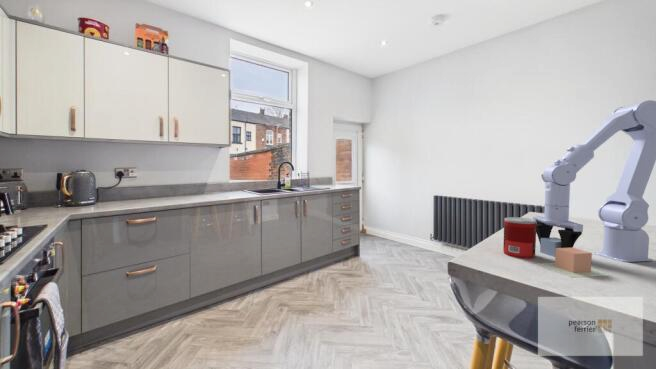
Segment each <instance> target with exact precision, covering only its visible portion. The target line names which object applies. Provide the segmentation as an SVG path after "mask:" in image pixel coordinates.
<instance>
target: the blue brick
mask: <svg viewBox="0 0 656 369" xmlns="http://www.w3.org/2000/svg"><path fill="white" fill-rule="evenodd" d="M539 245H540V246H539V248H540V249H539V252H540V253H541V254H545V255H548V256H550V257H553V258H555V252H556V248H561V238H560V237H559V238H558V237H550V238H541V243H540V242H539Z"/></svg>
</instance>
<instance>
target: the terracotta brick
mask: <svg viewBox="0 0 656 369" xmlns="http://www.w3.org/2000/svg"><path fill="white" fill-rule="evenodd" d="M592 256H593V252H590V251H587V250H583V249H580V248H576V247H574V246H573V247H572V248H556V252H555V257H554V259H555V260H554V263H555V266H556V267H559V268H561V269H564V270H567V271H569V272H572V273H581V272H591V268H592V259H593V257H592Z"/></svg>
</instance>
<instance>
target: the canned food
mask: <svg viewBox="0 0 656 369" xmlns="http://www.w3.org/2000/svg"><path fill="white" fill-rule="evenodd" d="M536 242H537V233H536V220H533V218H527V217H519V216H518V217H516V216H512V217H511V216H509V217H504V220H503V248H502V249H503V250H502V252H503V254H504V255H506V256H508V257H513V258H519V259H534V258H535V256H536V248H537V246H536V244H537V243H536Z"/></svg>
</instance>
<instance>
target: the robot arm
mask: <svg viewBox="0 0 656 369" xmlns="http://www.w3.org/2000/svg"><path fill="white" fill-rule="evenodd" d="M620 131H621V132H623V133H624V134H626V135H628V136H629V137H630V138H631V139H632V140H633V141H632V142H633V143H632V146H631V148H630V151H629V154H628V156H627V160H626V162H625V164H624V167H623V170H622V173H621V174H620V175H621V176H620V179H619V180H618V184H617V187H616V189H615V192H613V193H612V194H610V195H609V196H607V197H606V200H605V202H604V203H603V204H602V205H601V206H600V207H598V208H599V209H598V210H597V214H598V218H599V219H600V221H602V225H603V236H602V238H603V239H602V251H601V252H600V251H598V252H597V251H594V252H593V255H597V256H600V257H604V258H608V259H610V260H615V261H618V262H623V263H632V262H633V263H635V262H651V261H653V259H652V258H649V248H650V247H649V246H650V245H649V244H650V238H649V234H648V233H647V232H646V230H644V229H643V227H645V225H646V224H648V221H649V213H648V210H649V207H650V205H649V203H648V202H647V201H646V200H645V199H644V197H643V196H644V193H645V191H646V188H647V186H648V182H649V180H650V178H651V175H652V172H653V170H654V167H655V163H656V100H652V99H650V100H644V101H642V102H639V103H634V104H630V105H627V106H621V107H618V108H615V109H614V110H613V111H612V112H611V113H610V114H608V115H607V116H605V119H604V121H603V122H602V123H601V124H600V125H599V126H598V127H597V128H596V129H595V130H594V131H593V132H592V133H591V134H590V136H588V137H587V138H586V139H585V140H584V142H582V143H581V144H575V145H572V146H569V147H568V148H567V149H566V153H565V154H563V155H562V156H561V157H560V158H559V159H556V160H554V162H553V163H554V165H553V164H552V165H549V166H547V167H546V168H545V169H544V170H543V173H541V175H540V176H541V179H542V181H543V182H544V185H545V187H544V188H545V192H544V193H545V194H544V212H543V214H544V215H543V216H539V215H534V216H533V217H532V219H533V220H536V237H537V239H538V241H539V244H540V243H541V238H551V233H552V230H553V228H554V227H557V228H561V229H558V230H557V232H558V234H559V239H561V248H572V247H573V248H574V245H575V243H576V242H577V240H578V239H579V237H581V236H582V235H583V232H584V231H583V230H584V224H581V223H578V222H574V221H571V220H569V219H570V199H571V198H570V196H571V192H570V191H571V183H573V182H575V180H576V179H577V173H578V172H579V171H580V170H582V169H583V168H584V166H586V165H587V164H588V163H589V162H591V160H593V159H594V158H595V153H594V152H595V151H596V150H597V149H598V148H599V147H601V146H602V145H603V144H605V143H606V142H607V141H608V140H610V139H611V137H613V136H614V135H615V134H617V133H618V132H620Z"/></svg>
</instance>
